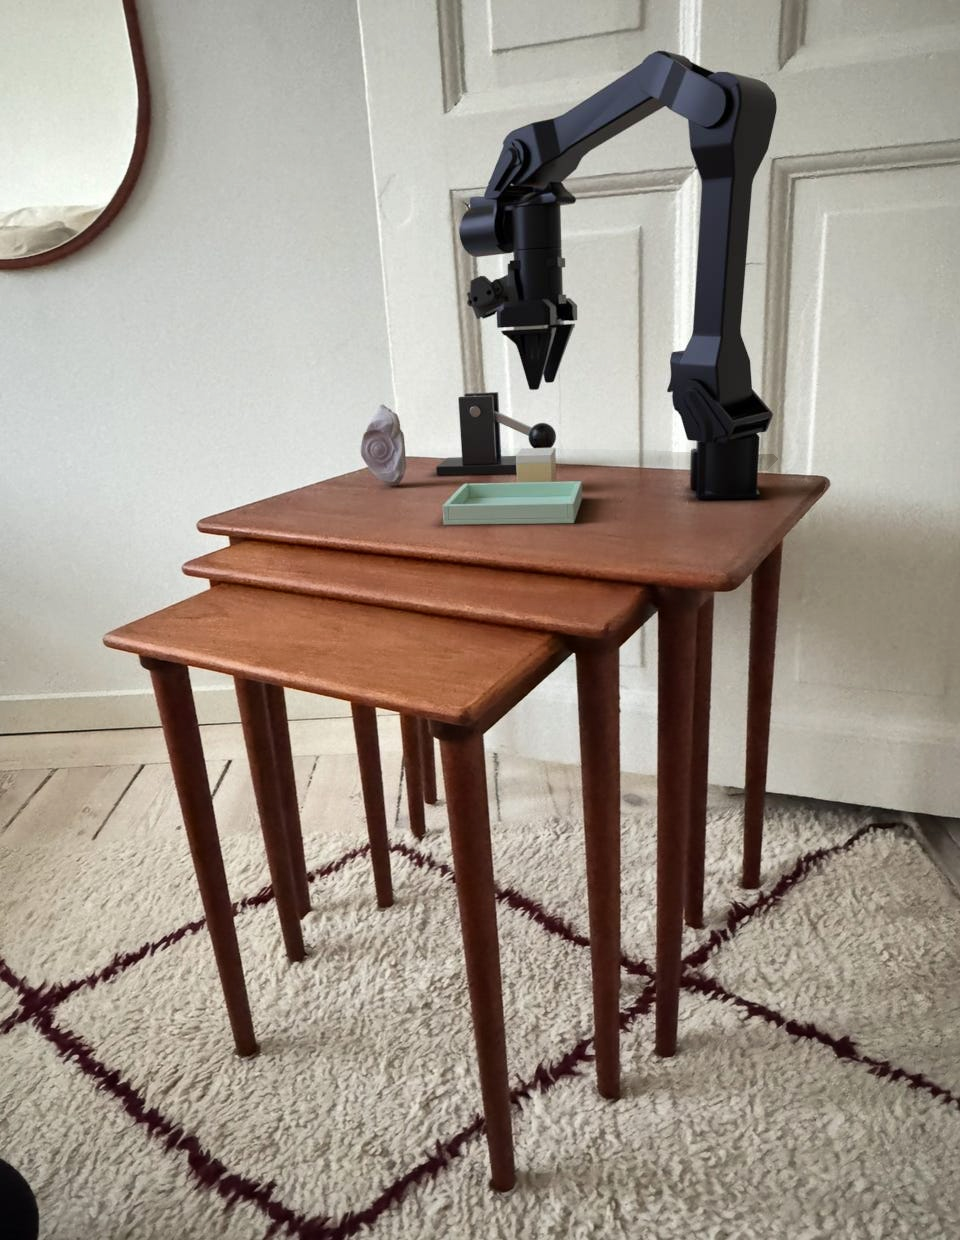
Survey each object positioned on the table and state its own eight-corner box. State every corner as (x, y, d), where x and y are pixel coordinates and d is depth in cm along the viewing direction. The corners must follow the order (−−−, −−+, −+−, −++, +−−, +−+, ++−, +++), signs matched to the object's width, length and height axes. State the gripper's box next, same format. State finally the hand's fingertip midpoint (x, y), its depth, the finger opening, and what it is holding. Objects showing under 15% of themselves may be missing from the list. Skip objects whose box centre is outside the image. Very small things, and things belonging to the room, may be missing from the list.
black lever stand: (526, 464, 121) (524, 390, 118) (519, 473, 115) (516, 395, 111) (448, 466, 123) (443, 393, 120) (436, 475, 117) (431, 399, 113)
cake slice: (556, 485, 106) (555, 447, 105) (552, 494, 101) (551, 454, 100) (523, 486, 107) (521, 448, 105) (517, 494, 102) (515, 455, 101)
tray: (582, 499, 98) (581, 481, 97) (573, 523, 88) (573, 503, 87) (464, 501, 101) (463, 483, 100) (443, 524, 90) (442, 505, 90)
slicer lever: (550, 453, 118) (561, 427, 117) (547, 457, 115) (559, 431, 113) (467, 415, 118) (477, 390, 117) (461, 419, 115) (472, 392, 114)
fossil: (361, 488, 111) (353, 407, 108) (374, 483, 114) (367, 403, 111) (403, 489, 109) (395, 406, 105) (415, 484, 112) (409, 402, 108)
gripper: (492, 258, 116) (498, 381, 121) (448, 252, 99) (458, 396, 104) (576, 251, 113) (579, 378, 118) (547, 244, 96) (551, 393, 101)
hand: (542, 385), depth 110 cm, fingers open, 9 cm apart
